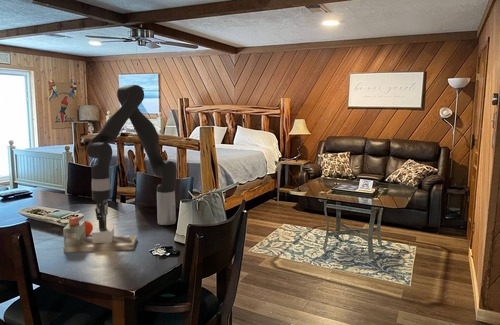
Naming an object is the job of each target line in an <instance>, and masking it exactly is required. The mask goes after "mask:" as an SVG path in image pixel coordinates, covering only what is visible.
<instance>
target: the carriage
mask: <svg viewBox="0 0 500 325" xmlns="http://www.w3.org/2000/svg"><path fill="white" fill-rule="evenodd" d="M100 217H101V216H100ZM104 218H105V219H104V223H105V228H104V229H100V228H99V227H97V228H96V227H95V228H94V229H93V230H92V232H91V237H92V241H93V243H112V237H113V236H115V228H114V227H107V225H106V224H107V217H106V216H104Z"/></svg>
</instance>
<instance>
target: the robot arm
mask: <svg viewBox="0 0 500 325" xmlns="http://www.w3.org/2000/svg"><path fill="white" fill-rule="evenodd" d="M116 97H117V100H118V102H119V104H120V107H119V108H118V110H116V111H115V112H114V113H113V114H111V116H110V117H109V118H108V119H107V120H106V121H105V123H104V125H103V126H102V128H101V129H100V131H99V132H98V133H97V134H96V135H95V136H94V137H93V138H92V139H91V140H90V141H89V143H88V144H87V147H86V154H87V156H88V157H89V158H90V159H91V158H92V159H98V161H97V163H95V164H93V165H91V199H92V200H93V201H96V202H97V203H96V204H95V209H94V211H95V216H96V221H98V228H100V229H104V228H105V223H104V219H105V218H104V216H106V218H107V217H108V214H109V212H108V211H109V201H108V200H110V199H111V198H112V193H111V179H110V166H111V160H112V156H113V149H112V146H111V145H110V143H113V142H115V141H116V140H117V138H118V136H119V135H120V133H121V131H122V129H123V128H124V125H125V124H126V123H127V122H128V120H130V123H131V125H132V127H133V129H134V131H135V132H136V135H137V137H138V140H139V141H140V143H141V145H142V147H143V150H144V152H145V153H146V155H147V158H148V161H149V163H150V167H151V169H152V172H153V174H154V175H155V176H156V177H157V178H161V183H160V184H158V185H156V209H157V210H156V212H157V214H156V215H157V224H158V225H161V226H168V225H169V226H170V225H175V224H176V193H175V192H176V189H175V188H176V186H177V176H178V175H177V174H178V171H177V165H176V163H175V162H174V161H171V160H165V159H164V158H163V156H162V154H161V151H160V149H159V148H160V136H159V134H158V131H157V128H156V127H155V125H154V123H152V121H151V120H150V119H149V118H147V116H146V115H145V114H143V113H142V112H141V110H140V109H139V106H140V105H141V104H142V103H143V101H144V99H145V91H144V90H143V88H142V86H140V85H138V84H130V85H122V86H120V87H118V88H117V91H116ZM100 216H101V217H100ZM107 224H108V223H106V226H107Z"/></svg>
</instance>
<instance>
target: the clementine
mask: <svg viewBox="0 0 500 325" xmlns="http://www.w3.org/2000/svg"><path fill="white" fill-rule="evenodd" d="M84 221H85V236H86V237H87V236H89V235H90V234H92V232H93V230H94V229H93V228H94V226H93V223H91V222H90V221H88V220H84Z"/></svg>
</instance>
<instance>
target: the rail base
mask: <svg viewBox="0 0 500 325" xmlns="http://www.w3.org/2000/svg"><path fill="white" fill-rule="evenodd" d="M62 233H63V245H64V246H63V253H86V252H105V251H106V252H107V251H127V250H134V248H135V246H136V243H137V240H138V238H137V237H138V236H137V235H131V234H130V235H128V234H127V235H114V236H113V237H112V243H93V241H92V236H87V235H86V236H85V220H82V221H81V220H79V225H78V226H69V223H67V224H66V225H65V226H64V228H63V230H62Z"/></svg>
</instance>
